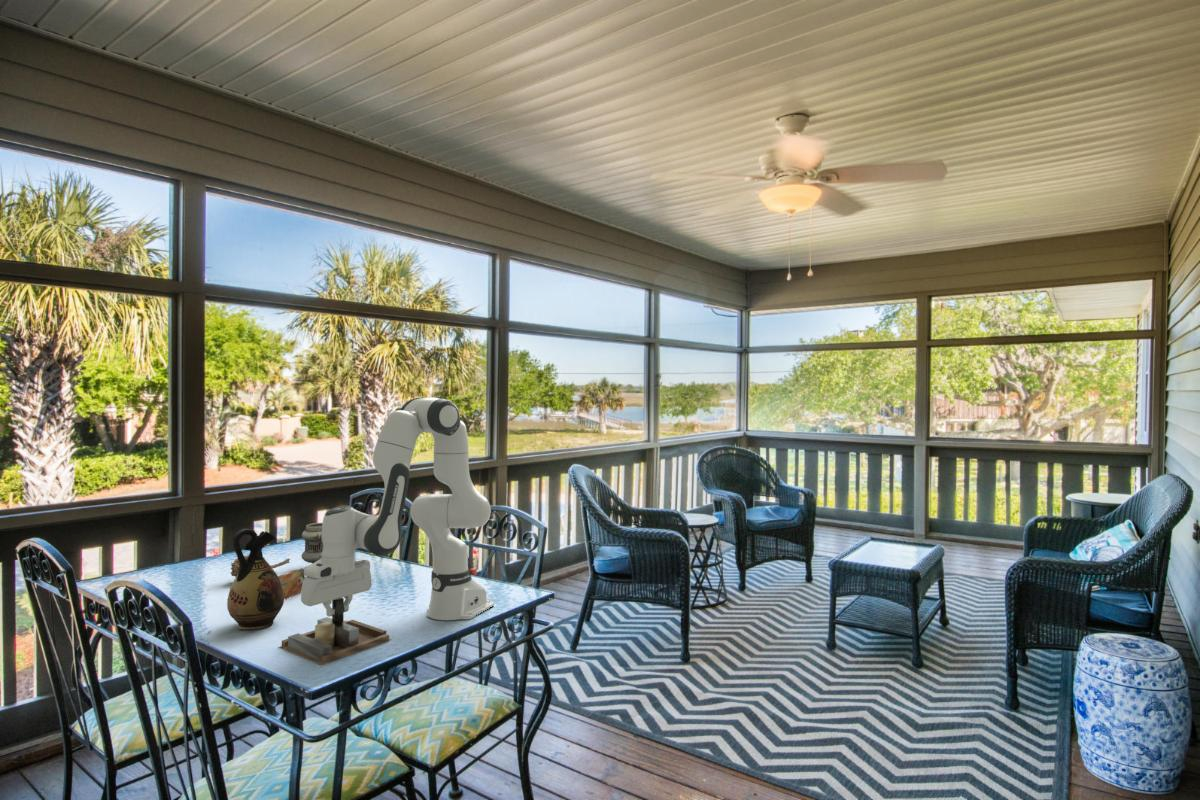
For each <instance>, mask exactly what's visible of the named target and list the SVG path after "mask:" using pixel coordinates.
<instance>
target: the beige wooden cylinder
mask: <svg viewBox="0 0 1200 800" xmlns="http://www.w3.org/2000/svg"><path fill="white" fill-rule="evenodd" d="M314 630H315V640H317V641H320V642H322V643H325V644H327V645H330V646H332V648H333V647H334V636H335V624H334V623H330V622H326V623H320V624H318V625H317V624H316V625H315V626H314Z"/></svg>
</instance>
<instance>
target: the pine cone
mask: <svg viewBox="0 0 1200 800" xmlns="http://www.w3.org/2000/svg"><path fill="white" fill-rule="evenodd" d="M244 557H245V559H246V561H247V559H248V557H249V554H247V555H244ZM290 560H291V559H290V558H286V559H285V560H283V561H280V562H278V563H275V564H272V565H271V564H270V566H271V567H272V568H273V569H275V568H278V567H281V566H285V565H286V564H289V563H291V562H290ZM230 566H231V567H230V569H231V572H230V575H231V577H235V578H236V576H237V574H238V573H239V568H240V563H239V560H238V558H235V559H234V560H233V562H231V564H230Z"/></svg>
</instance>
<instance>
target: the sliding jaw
mask: <svg viewBox="0 0 1200 800" xmlns="http://www.w3.org/2000/svg"><path fill="white" fill-rule="evenodd" d="M344 601H345V598H344V597H343V598H339V599H335V600H332V604H331V605H332V606H331V608H333V609H335V612H334V613H335V615H333V616H331V617H329V616H326V617H322V618H319V619H317V624H316V625H318V624H320V623H326V622H330V623H334V624H335V636H334V644H336V645H339V646H341V647H344V648H348V647H351V646H353V645H356V644H359V628H357V627H354V626H351V625H348V624H346V623H343V622H344V621H345V620H344V617H345V616H344V613H345V612H344Z"/></svg>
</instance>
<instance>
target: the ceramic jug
mask: <svg viewBox="0 0 1200 800" xmlns="http://www.w3.org/2000/svg"><path fill="white" fill-rule="evenodd" d="M246 536H249V537H251V538H250V539H249V541H248V542H247V543H246V544H245V547H244V551H249V554H248V555H249V557H248V559H247V561H246V559H245V557H244V556H245V555H244V553H243V550H242V548H241V544H240V540H241V539H242V538H244V537H246ZM275 541H277V537H276V536H274V535H273V534H272V533H271V532H268V531H263V530H262V531H260V533H259V534H258V533H257V532H256V531H255V530H254V529H250V528H241V529H240V530H237V532H236V533H235V534H234V536H233V538H232V547H233V549H234V552H235V554H236V559H238V560H239V563H240V568H239V573H238V574H237V576H236V577H235V578H234V580H233V581H232V584H231V586H230V588H229V591H228V596H227V599H226V601H227V602H226V605H227V607H226V608H227V611H228V613H229V616H230V617H231V619H233V620H234V622H235V623H236V624H237V625H238V629H239V630H255V631H256V630H261V629H264V628H265V629H266V628H271V627H272V626H273V625H274V622H275V620H276V617H278V614H279V613H280V612H281V610H282V608H283V606H284V602H285V600H284V591H283V587H282V584H281V581H280V579H279V577H278V576H279V575H278V573H276V571H275V569H274V568H272V567H271V564H270V563H269V562H268V561H267V560H266V559H265V557H264V556H263V549H264V548H265V547H266V546H267V545H270V544H271V543H273V542H275Z"/></svg>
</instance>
